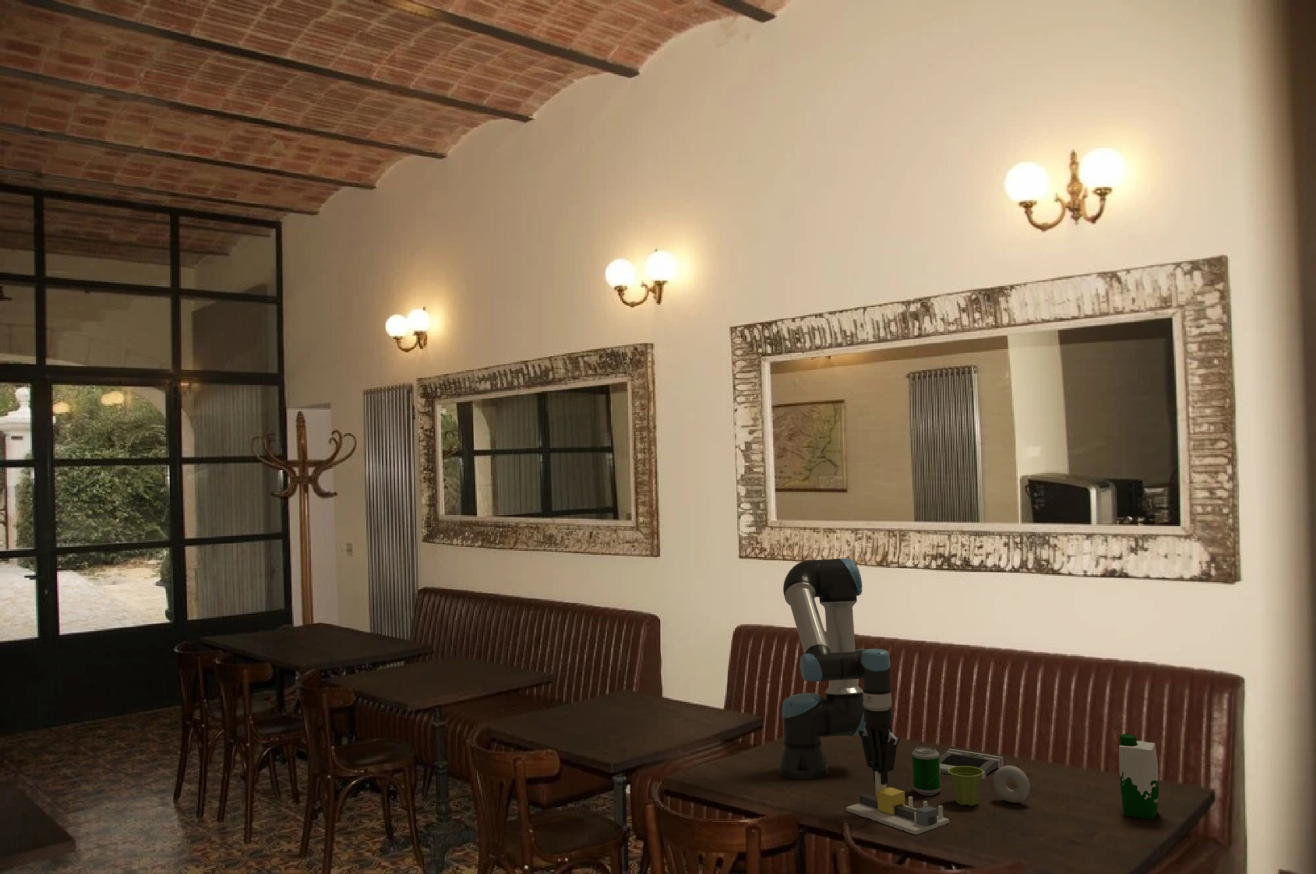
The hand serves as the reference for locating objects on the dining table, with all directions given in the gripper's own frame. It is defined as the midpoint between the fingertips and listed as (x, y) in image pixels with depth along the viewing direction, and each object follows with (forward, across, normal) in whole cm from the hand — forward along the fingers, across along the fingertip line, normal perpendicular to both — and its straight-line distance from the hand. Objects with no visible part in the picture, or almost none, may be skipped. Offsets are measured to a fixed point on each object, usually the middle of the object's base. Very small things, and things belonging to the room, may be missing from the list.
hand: (881, 795), depth 274 cm
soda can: (+5, -3, +22) cm, 23 cm away
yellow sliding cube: (+3, +3, 0) cm, 4 cm away
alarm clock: (+5, -10, +48) cm, 50 cm away
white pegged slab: (+4, +5, 0) cm, 7 cm away
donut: (+5, +18, +32) cm, 37 cm away
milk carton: (+5, +45, +50) cm, 67 cm away
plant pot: (+5, +10, +23) cm, 26 cm away
